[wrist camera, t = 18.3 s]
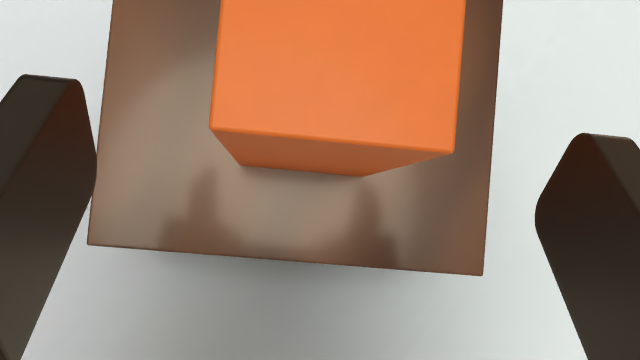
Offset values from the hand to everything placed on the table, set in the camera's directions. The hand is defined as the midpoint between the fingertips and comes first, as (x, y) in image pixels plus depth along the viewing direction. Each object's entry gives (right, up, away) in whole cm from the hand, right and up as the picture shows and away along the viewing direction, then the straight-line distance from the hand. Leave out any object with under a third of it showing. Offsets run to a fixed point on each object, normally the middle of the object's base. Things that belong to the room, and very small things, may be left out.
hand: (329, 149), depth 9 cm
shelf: (-1, +2, +19) cm, 19 cm away
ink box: (-1, +2, +10) cm, 10 cm away
